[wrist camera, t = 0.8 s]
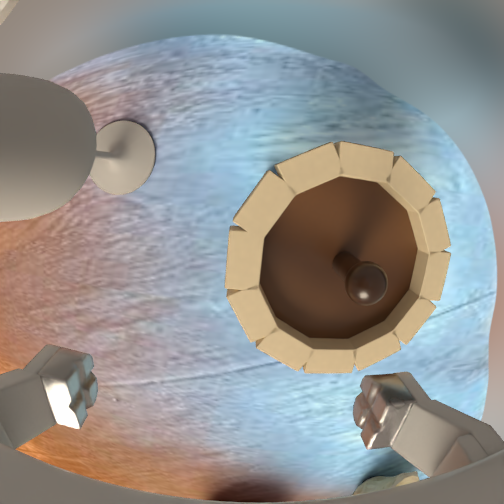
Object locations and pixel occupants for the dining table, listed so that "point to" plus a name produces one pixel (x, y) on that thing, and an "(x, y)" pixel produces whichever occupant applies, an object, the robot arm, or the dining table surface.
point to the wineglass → (61, 149)
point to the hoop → (270, 209)
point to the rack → (338, 259)
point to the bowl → (386, 482)
